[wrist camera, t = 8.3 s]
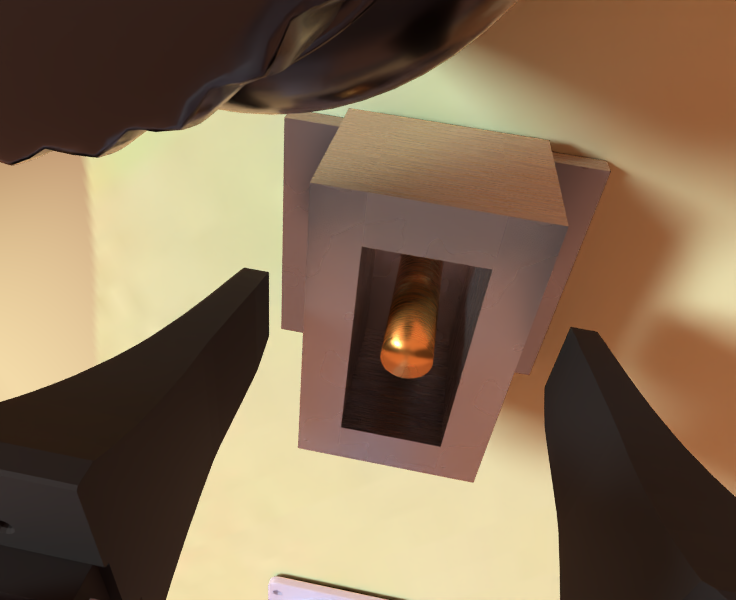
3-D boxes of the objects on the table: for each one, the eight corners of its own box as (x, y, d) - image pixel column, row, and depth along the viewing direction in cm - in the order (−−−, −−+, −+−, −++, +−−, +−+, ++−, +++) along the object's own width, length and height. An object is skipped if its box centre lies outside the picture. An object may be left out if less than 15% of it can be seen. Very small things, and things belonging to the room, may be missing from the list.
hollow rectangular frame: (475, 376, 19) (473, 482, 15) (329, 349, 19) (298, 447, 16) (549, 140, 14) (568, 226, 10) (349, 107, 14) (309, 182, 11)
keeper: (528, 362, 19) (538, 483, 15) (286, 316, 19) (240, 424, 16) (606, 161, 14) (647, 264, 11) (291, 109, 15) (228, 192, 11)
